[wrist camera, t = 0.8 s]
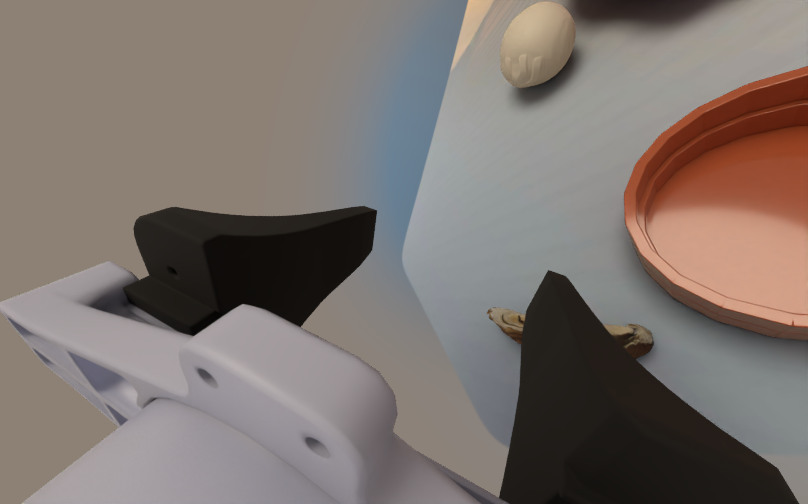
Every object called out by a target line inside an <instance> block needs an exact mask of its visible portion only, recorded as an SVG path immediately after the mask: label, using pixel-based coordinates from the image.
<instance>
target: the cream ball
mask: <svg viewBox="0 0 808 504" xmlns="http://www.w3.org/2000/svg"><path fill="white" fill-rule="evenodd" d="M575 35H576V29H575V23H574V20H573V18H572V16H571V15H570V13H569V12H568V10H567V9H566V8H565V7H563V6H561V5H560V4H557V3H554V2H539V3H536V4H533V5H531V6H529V7H528V8H526V9H525V10H524V11H522V12H521V13H520V14H519V15H518V16H517V17H516V18H515V19H514V20H513V21H512V22H511V24H510V25H509V27H508V28H507V30H506V32H505V35H504V37H503V40H502V44H501V50H500V60H501V70H502V73H503V75H504V77H505V78H506V80H507V81H508V82H509V83H511V84H512V85H513V86H515V87H518V88H525V87H528V86H534V85H538V84H541V83H544V82H546V81H548V80H549V79H551V78H552V77H554V76H555V75H556V74H557V73H558V72H559V71H560V70H561V69H562V68H563V67H564V66H565V64H566V62H567V61H568V59H569V57H570V55H571V53H572V50H573V46H574V42H575Z"/></svg>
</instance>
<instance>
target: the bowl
mask: <svg viewBox="0 0 808 504" xmlns="http://www.w3.org/2000/svg"><path fill="white" fill-rule="evenodd" d="M624 208H625V225H626V228H627V231H628V233H629V236H630V239H631V242H632V245H633V247H634V249H635V251H636V253H637V255H638V257H639V259H640V261H641V263H642V265H643V267H644V269H645V271H646V272H647V273H648V274H649V275H650V276H651V277H652V278H653V279H654V280H655V281H656V282H657V283H658V284H659V285H660V286H661V287H662V288H663V289H665V290H666V291H667V292H668V293H669V294H670V295H671V296H672V297H673V298H675V299H677V300H678V301H680V302H682V303H684V304H686V305H688V306H689V307H691V308H693V309H695V310H697V311H699V312H701V313H702V314H704V315H706V316H708V317H710V318H712V319H714V320H717V321H719V322H723V323H726V324H730V325H733V326H737V327H740V328H744V329H747V330H751V331H754V332H758V333H761V334H765V335H768V336H774V337H777V338H788V339H799V340H808V66H806V67H803V68H800V69H796V70H793V71H790V72H786V73H783V74H779V75H776V76H773V77H769V78H766V79H762V80H759V81H756V82H752V83H749V84H748V85H744V86H742V87H740V88H738V89H736V90H734V91H731V92H729V93H727V94H725V95H723V96H721V97H719V98H717V99H715V100H713V101H710V102H708V103H706V104H704V105H702V106H700V107H698V108H696V109H695V110H693V111H692V112H691V113H689V114H688V115H687V116H685V117H684V118H682V119H681V120H680V121H678V122H677V123H676V124H674V125H673V126H671V127H670V128H669V129H667V130H666V131H665V132H663V133H662V134H661V135H660V136H659V137H658V138H657V139H656V140H655V141H654V143H653V144H652V145H651V146H650V147H649V149H648V150H647V151H646V152H645V153H644V155H643V156H642V157H641V158H640V159H639V160H638V162H637V163H636V165H635V167H634V170H633V172H632V175H631V177H630V180H629V182H628V185H627V187H626V190H625V192H624Z"/></svg>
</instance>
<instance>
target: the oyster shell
mask: <svg viewBox="0 0 808 504" xmlns="http://www.w3.org/2000/svg"><path fill="white" fill-rule="evenodd" d="M487 313H489V314H490V315H489V318H490V319H491V320H492V321H494V322H495V323H496V324H497V325H498V326H499V327H500V328H501V329H502V331H503V332H504V333H505V334H506V335H508V336H510V337H511V338H512V339H513V340H515V341H516V342H518V343H519V344H522V330H523V325H524V320H525V315H526V314H524V315H523V314H521V313H518V312H515V311H513V310H509V309H503V308H492V309H489V310H488V312H487ZM604 327H605V328H606V329H607V330H608V331H609V333H610V334H611V335H612V336H613V337H614V338H615V339H616V340H617V341H618V342H619V344H620V345H621V346H622V347H623V348H624V349H625V350H626V351H627V352H628V353H629V354H630V355H631V356H632V357H633V358H634V359H635V358H637V357H640V356H642V355H644V354H646V353H648V352H649V351H650V350H651V348H652V346H653V344H654V342H653V338H652V333H651V332H650V331H649V330H647V329H646V328H644V327H642V326H640V325H637V324H628V325H627V326H626V327H624V326H618V325H604Z"/></svg>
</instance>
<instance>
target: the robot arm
mask: <svg viewBox="0 0 808 504" xmlns="http://www.w3.org/2000/svg"><path fill="white" fill-rule="evenodd" d="M376 214H377V210H374V209H371V208H368V207H365V206H359V207H351V208H344V209H338V210H332V211H326V212H318V213H311V214H303V215H292V216H242V215H229V214H219V213H210V212H203V211H197V210H191V209H184V208H179V207H171V208H167V209H163V210H160V211H157V212H154V213H150V214H147V215H143V216H140V217H139V218H138V219H137V220H136V222H135V225H134V236H135V239H136V242H137V246H138V248H139V251H140V253H141V256H142V258H143V261H144V263H145V266H146V268H147V270H148V273H149V276H147V277H145V278H143V279H141V280H139V279H138V278H137V277H136V276H135V275H134V274H133V273H132V272H130V271H128V270H126V269H125V268H123V267H121V266H119V265H117V264H116V263H114V262H110V261H107V262H105V263H102V264H99V265H97V266H94V267H92V268H89V269H86V270H84V271H81V272H78V273H76V274H73V275H71V276H68V277H65V278H63V279H60V280H58V281H55V282H52V283H50V284H47V285H44V286H42V287H39V288H36V289H34V290H31V291H28V292H26V293H23V294H21V295H18V296H15V297H13V298H10V299H8V300H5V301H2V302H0V312H1V313H2V314H3V315H4V317H5V318H6V319H7V320H8V321H9V323H10V324H11V325H12V326H13V327H14V329H15V330H16V331H17V332H18V334H19V335H20V336H21V337H22V338H23V339H24V341H25V342H26V343H27V344H28V346H29V347H30V348H31V349H32V350H33V352H34V353H35V354H36V355H37V357H38V358H39V359H40V360H41V361H42V362H43V364H44V365H46V366H47V367H48V368H49V369H50V370H52V371H53V372H54V373H55V374H57V375H58V376H59V377H61V378H62V379H63V380H64V381H65V382H67V383H68V384H69V385H70V386H72V387H73V388H74V389H75V390H76V391H78V392H79V393H80V394H81V395H82V396H84V397H85V398H86V399H87V400H88V401H89V402H90V403H92V404H93V405H94V406H95V407H96V408H97V409H99V410H100V411H101V412H102V413H103V414H104V415H106V416H107V417H108V418H109V419H110V420H111V421H112V422H113V423H115V424H116V425H117V426H118V427H119V428H118V429H116V430H115V431H114V432H113V433H111V434H110V435H109V436H107V437H106V438H105V439H103V440H102V441H101V442H100V443H98V444H97V445H96V446H95V447H93V448H92V449H91V450H89V451H88V452H87V453H85V454H84V455H83V456H82V457H81V458H79V459H78V460H76V461H75V462H74V463H73V464H71V465H70V466H69V467H67V468H66V469H65V470H64V471H62V472H61V473H60V474H59V475H57V476H56V477H55V478H53V479H52V480H51V481H50V482H48V483H47V484H46V485H44V486H43V487H42V488H41V489H39V490H38V491H37V492H36V493H34V494H33V495H32V496H30V497H29V498H28V499H26V500H25V501H24V502H23V503H21V504H799V503H798V501H797V499H796V498H795V496H794V494H793V493H792V491H791V489H790V488H789V486H788V485H787V483H786V481H785V480H784V478H783V476H782V475H781V473H780V471H779V470H778V469H777V467H775V466H773V465H772V464H771V463H769V462H768V461H766V460H765V459H764V458H762V457H761V456H759V455H758V454H756V453H755V452H753V451H752V450H750V449H749V448H748V447H746V446H745V445H743V444H742V443H740V442H739V441H737V440H736V439H734V438H733V437H732V436H730V435H729V434H727V433H726V432H724V431H723V430H721V429H720V428H719V427H717V426H716V425H714V424H713V423H712V422H710V421H709V420H708V419H706V418H705V417H704V416H702V415H701V414H700V413H699V412H697V411H696V410H695V409H693V408H692V407H691V406H689V405H688V404H687V403H685V402H684V401H683V400H682V399H680V398H679V397H678V396H677V395H675V394H674V393H673V392H672V391H670V390H669V389H668V388H667V387H666V386H665V385H663V384H662V383H661V382H660V381H659V380H658V379H656V378H655V377H654V376H653V375H652V374H651V373H650V372H648V371H647V370H646V369H645V368H644V367H643V366H642V365H641V364H640V363H639V362H637V361H636V360H635V359H634V358H633V357H632V356H631V355H630V354H629V353H628V352H627V351H626V350H625V349H624V348H623V347H622V346H621V345H620V344H619V342H618V341H617V340H616V339H615V338H614V337H613V336H612V335H611V334H610V333H609V331H608V330H607V329H606V328H605V327H604V325H603V324H602V323H601V322H600V321H599V319H598V318H597V317H596V316H595V314H594V313H593V312H592V311H591V309H590V308H589V307H588V305H587V304H586V303H585V301H584V300H583V299H582V297H581V296H580V294H579V293H578V292H577V290H576V289H575V287H574V286H573V285H572V283H571V282H570V281H569V279H568V278H567V277H566V276H564V275H561V274H558V273H555V272H552V271H549V270H548V272H547V273H546V275H545V277H544V279H543V281H542V283H541V285H540V286H539V288H538V290H537V292H536V294H535V296H534V298H533V299H532V301H531V303H530V305H529V307H528V309H527V311H526V315H525V320H524V325H523V330H522V345H521V368H520V387H519V396H518V402H517V409H516V415H515V421H514V426H513V432H512V437H511V443H510V448H509V454H508V458H507V463H506V468H505V473H504V478H503V482H502V487H501V491H500V496H499V498H498V497H496V496H495V495H493V494H491V493H489V492H488V491H486V490H484V489H482V488H481V487H479V486H477V485H475V484H474V483H472V482H470V481H468V480H467V479H465V478H463V477H461V476H460V475H458V474H456V473H455V472H453V471H451V470H449V469H448V468H446V467H444V466H442V465H441V464H439V463H437V462H435V461H434V460H432V459H430V458H428V457H426V456H425V455H423V454H421V453H420V452H418V451H416V450H414V449H413V448H412V447H411V446H410V445H408V444H407V443H406V442H405V441H404V440H402V439H401V438H400V437H399V436H397V435H396V434H395V433H394V432H393V428H394V425H395V421H396V418H397V407H396V400H395V395H394V393H393V390H392V389H391V388H390V386H389V385H388V383H387V382H386V381H385V379H384V378H383V377H382V375H381V374H380V373H379V371H377V370H376V369H374V368H373V367H372V366H370V365H369V364H368V363H366V362H365V361H363V360H362V359H361V358H359V357H358V356H356V355H354V354H352V353H350V352H348V351H345V350H344V349H342V348H340V347H338V346H336V345H334V344H332V343H330V342H328V341H326V340H324V339H322V338H320V337H319V336H317V335H315V334H313V333H311V332H309V331H307V330H305V329H303V328H301V326H302V325H303V323H304V322H305V321H306V319H307V318H308V317H309V316H310V315H311V314H312V312H313V311H314V310H315V309H316V308H317V307H318V305H319V304H320V303H321V302H322V301H323V300H324V299H325V298H326V297H327V296H328V295H329V294H330V293H331V292H332V291H333V290H334V289H335V288H336V287H338V286H339V285H340V284H341V283H342V282H343V281H344V280H345V279H346V278H347V277H348V276H350V275H351V274H352V273H353V272H354V271H355V270H356V269H357V268H358V267H359V266H360V265H361V264H362V262H363V261H364V260H365V259H366V257H367V256H368V255H369V254H370V252H371V251H372V247H373V239H374V231H375V223H376Z"/></svg>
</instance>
